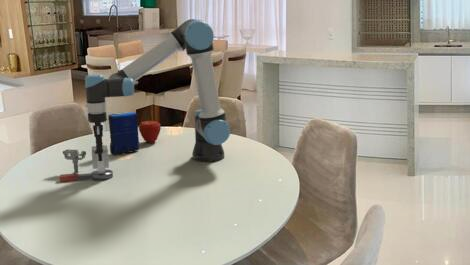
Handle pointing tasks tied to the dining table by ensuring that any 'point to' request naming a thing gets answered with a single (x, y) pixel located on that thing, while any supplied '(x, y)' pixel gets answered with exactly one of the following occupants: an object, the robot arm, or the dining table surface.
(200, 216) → the dining table surface
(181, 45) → the robot arm
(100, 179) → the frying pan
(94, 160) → the gray rectangular block
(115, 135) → the blue box
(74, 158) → the mechanical component
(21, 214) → the dining table surface
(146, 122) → the apple
